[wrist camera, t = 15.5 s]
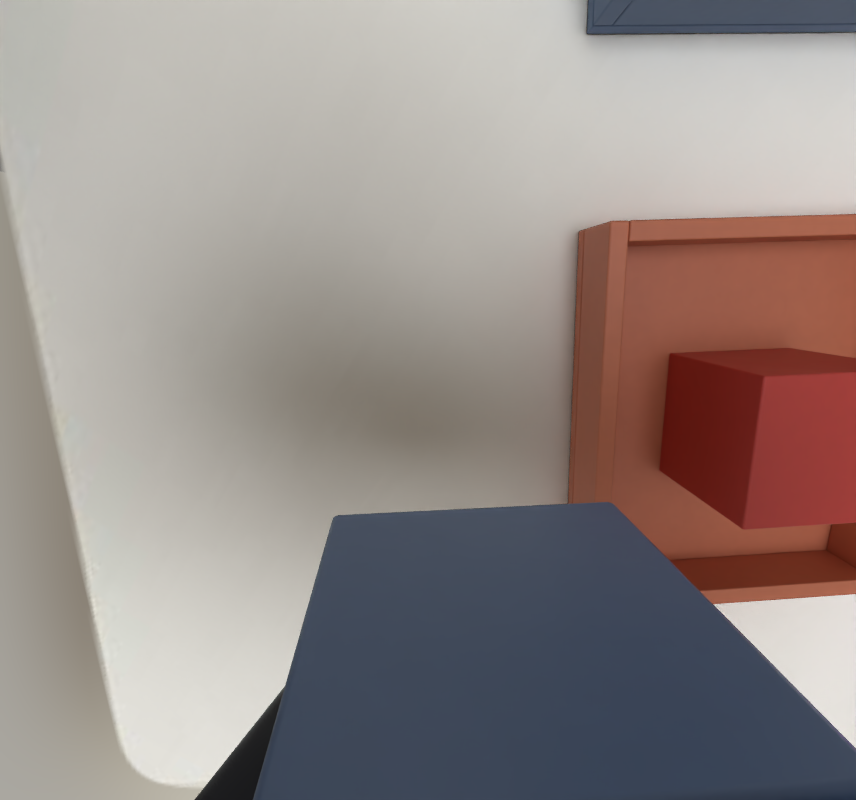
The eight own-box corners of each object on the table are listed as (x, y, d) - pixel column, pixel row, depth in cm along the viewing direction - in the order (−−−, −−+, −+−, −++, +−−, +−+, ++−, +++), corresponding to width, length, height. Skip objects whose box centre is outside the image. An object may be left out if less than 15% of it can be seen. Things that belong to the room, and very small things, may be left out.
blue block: (350, 742, 8) (298, 1232, 4) (332, 512, 7) (237, 841, 3) (595, 723, 9) (794, 1167, 4) (612, 498, 8) (901, 786, 3)
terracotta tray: (564, 572, 19) (588, 613, 17) (578, 230, 16) (610, 220, 14) (826, 554, 20) (886, 592, 17) (889, 221, 17) (972, 210, 14)
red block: (658, 470, 18) (742, 530, 13) (669, 352, 17) (764, 376, 12) (772, 464, 18) (892, 521, 14) (789, 347, 17) (925, 368, 13)
